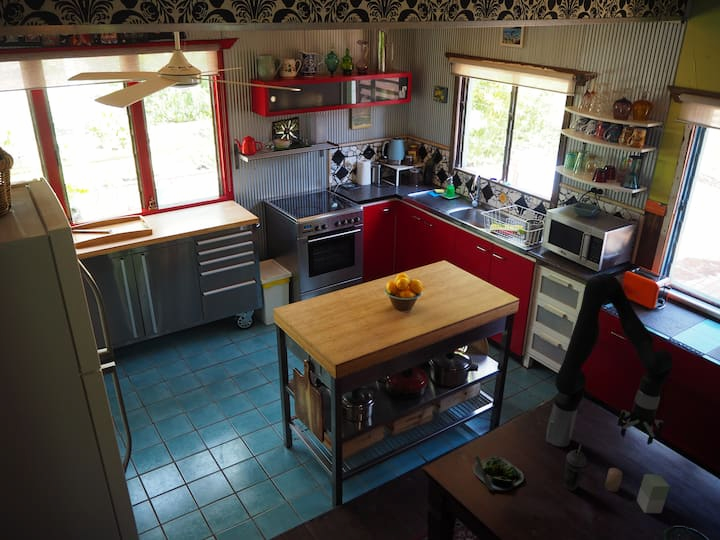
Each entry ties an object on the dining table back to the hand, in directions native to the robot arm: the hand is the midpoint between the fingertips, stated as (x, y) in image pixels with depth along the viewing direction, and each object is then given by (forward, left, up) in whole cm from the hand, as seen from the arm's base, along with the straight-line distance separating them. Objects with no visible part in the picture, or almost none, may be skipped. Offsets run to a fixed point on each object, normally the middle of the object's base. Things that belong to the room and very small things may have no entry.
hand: (635, 439), depth 218 cm
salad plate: (-46, -13, -20) cm, 52 cm away
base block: (+7, -10, -20) cm, 24 cm away
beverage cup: (-20, -9, -20) cm, 29 cm away
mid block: (+8, -10, -14) cm, 19 cm away
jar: (-5, -4, -20) cm, 21 cm away
